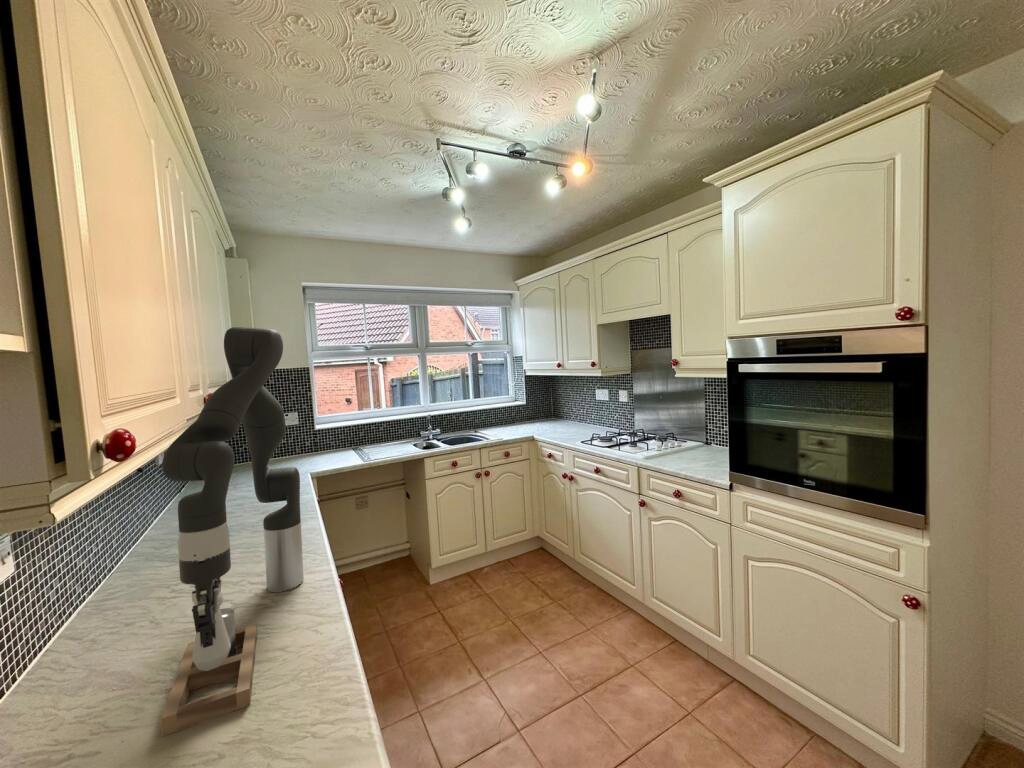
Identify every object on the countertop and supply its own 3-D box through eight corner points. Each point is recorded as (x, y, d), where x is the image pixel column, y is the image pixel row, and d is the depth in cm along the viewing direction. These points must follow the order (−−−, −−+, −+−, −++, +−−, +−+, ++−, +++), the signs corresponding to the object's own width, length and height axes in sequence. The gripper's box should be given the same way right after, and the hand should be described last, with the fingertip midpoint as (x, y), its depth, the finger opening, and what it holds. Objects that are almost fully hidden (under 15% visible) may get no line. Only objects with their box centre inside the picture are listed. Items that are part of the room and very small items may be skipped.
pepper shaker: (206, 659, 86) (203, 613, 86) (238, 650, 89) (235, 605, 89) (201, 676, 81) (198, 627, 81) (235, 666, 84) (232, 618, 84)
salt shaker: (226, 648, 80) (222, 583, 80) (236, 660, 77) (232, 592, 76) (188, 665, 76) (184, 596, 75) (197, 679, 72) (193, 607, 72)
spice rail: (188, 657, 87) (187, 643, 87) (257, 637, 93) (256, 624, 93) (162, 736, 68) (160, 718, 68) (250, 704, 74) (249, 688, 74)
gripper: (187, 541, 80) (192, 628, 80) (169, 571, 67) (176, 673, 68) (233, 532, 83) (238, 616, 84) (225, 559, 71) (230, 656, 72)
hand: (210, 641), depth 76 cm, fingers closed on salt shaker, 3 cm apart
